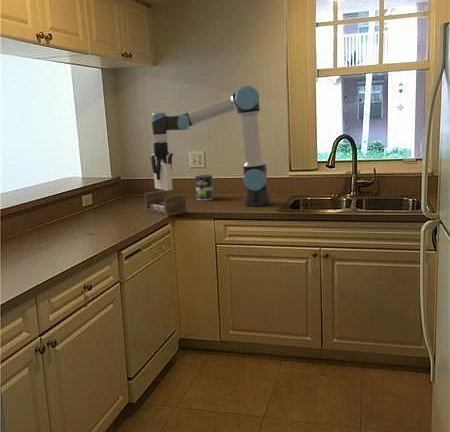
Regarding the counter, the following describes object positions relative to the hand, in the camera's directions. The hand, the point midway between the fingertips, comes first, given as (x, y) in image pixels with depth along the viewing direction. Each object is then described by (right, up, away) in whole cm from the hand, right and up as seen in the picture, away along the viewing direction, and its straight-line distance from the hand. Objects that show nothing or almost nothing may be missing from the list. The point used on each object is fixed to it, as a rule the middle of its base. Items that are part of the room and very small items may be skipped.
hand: (163, 185), depth 287 cm
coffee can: (+21, -7, +35) cm, 41 cm away
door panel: (0, -2, 0) cm, 2 cm away
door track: (+1, -14, +3) cm, 15 cm away
